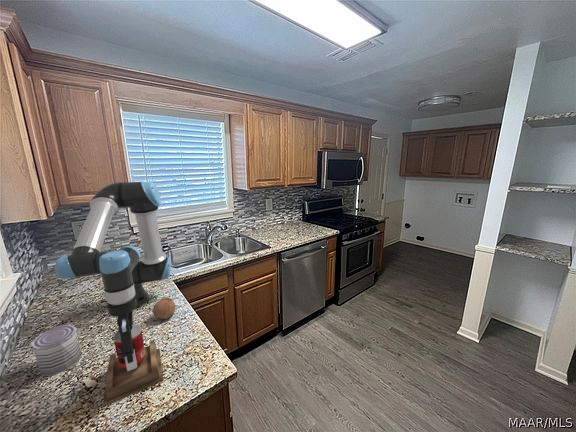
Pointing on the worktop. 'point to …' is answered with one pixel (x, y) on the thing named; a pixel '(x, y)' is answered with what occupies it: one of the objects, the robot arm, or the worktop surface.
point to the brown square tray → (132, 375)
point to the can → (57, 349)
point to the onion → (164, 308)
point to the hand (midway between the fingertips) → (132, 359)
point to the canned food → (137, 346)
